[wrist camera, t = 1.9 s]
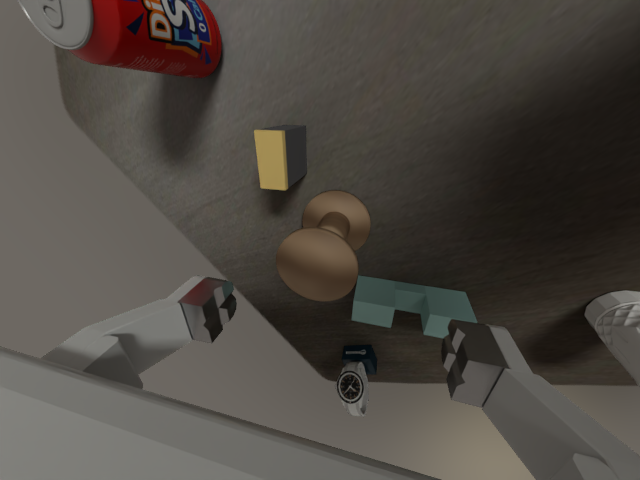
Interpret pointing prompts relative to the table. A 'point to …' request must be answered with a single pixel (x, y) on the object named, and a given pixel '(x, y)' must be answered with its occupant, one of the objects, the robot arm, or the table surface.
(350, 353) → the watch
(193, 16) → the soda can
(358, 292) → the notch board
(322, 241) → the bobbin
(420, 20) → the table surface
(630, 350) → the white cup
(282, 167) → the yellow and black block
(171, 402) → the robot arm
